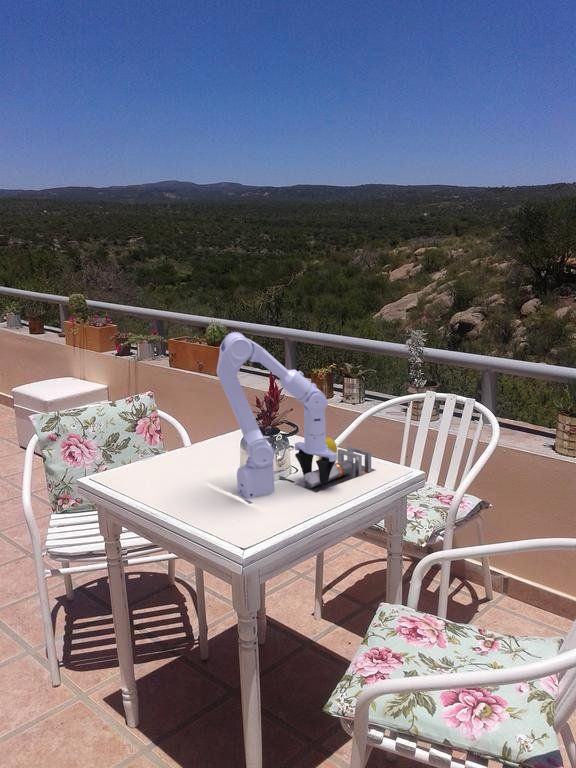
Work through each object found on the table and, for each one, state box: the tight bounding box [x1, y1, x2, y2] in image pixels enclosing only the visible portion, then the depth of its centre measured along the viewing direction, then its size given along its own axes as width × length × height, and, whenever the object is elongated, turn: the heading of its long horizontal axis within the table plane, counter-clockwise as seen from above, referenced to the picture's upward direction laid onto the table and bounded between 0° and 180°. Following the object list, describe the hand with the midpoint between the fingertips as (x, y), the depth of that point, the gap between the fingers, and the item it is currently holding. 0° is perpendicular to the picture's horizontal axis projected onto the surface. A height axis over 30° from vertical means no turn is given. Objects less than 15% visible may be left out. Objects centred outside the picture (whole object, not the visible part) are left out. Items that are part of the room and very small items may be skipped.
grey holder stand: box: [294, 445, 376, 493], centre depth 184 cm, size 24×9×7 cm, turn 131°
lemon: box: [320, 436, 338, 459], centre depth 199 cm, size 6×6×8 cm
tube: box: [303, 459, 352, 488], centre depth 181 cm, size 15×4×4 cm, turn 131°
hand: (315, 480), depth 179 cm, fingers open, 6 cm apart
